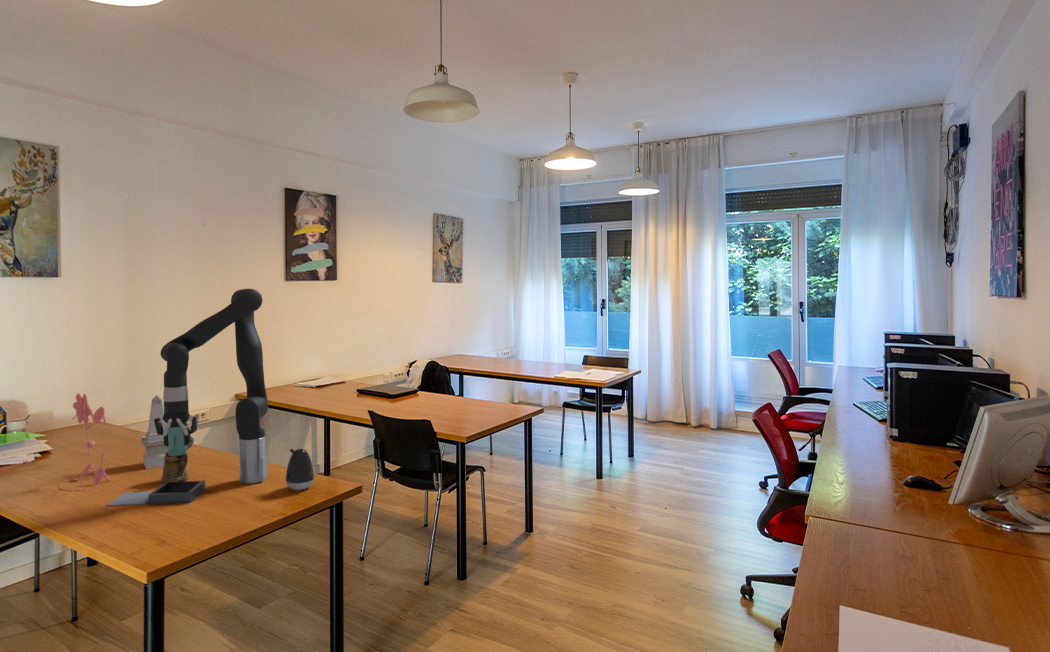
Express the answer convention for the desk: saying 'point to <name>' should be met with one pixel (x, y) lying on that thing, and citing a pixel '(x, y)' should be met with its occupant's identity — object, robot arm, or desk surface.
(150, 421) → the miniature monument
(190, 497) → the dark grey rectangular frame
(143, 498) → the slate grey mat
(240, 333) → the robot arm
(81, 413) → the figurine
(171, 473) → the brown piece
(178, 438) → the glazed jug
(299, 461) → the grey egg-shaped device
